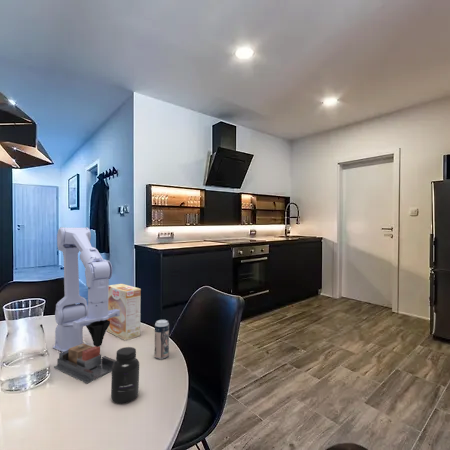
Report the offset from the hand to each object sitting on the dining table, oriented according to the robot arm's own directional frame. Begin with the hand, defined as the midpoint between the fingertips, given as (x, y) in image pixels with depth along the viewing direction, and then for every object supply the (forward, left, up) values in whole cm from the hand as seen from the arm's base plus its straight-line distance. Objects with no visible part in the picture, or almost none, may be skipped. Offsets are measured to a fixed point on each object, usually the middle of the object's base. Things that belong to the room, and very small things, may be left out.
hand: (97, 345), depth 86 cm
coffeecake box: (-19, +25, -8) cm, 32 cm away
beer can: (+9, +18, -8) cm, 22 cm away
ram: (-4, 0, -7) cm, 8 cm away
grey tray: (-5, 0, -8) cm, 10 cm away
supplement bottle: (+17, -4, -8) cm, 20 cm away
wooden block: (-8, 0, -8) cm, 11 cm away
